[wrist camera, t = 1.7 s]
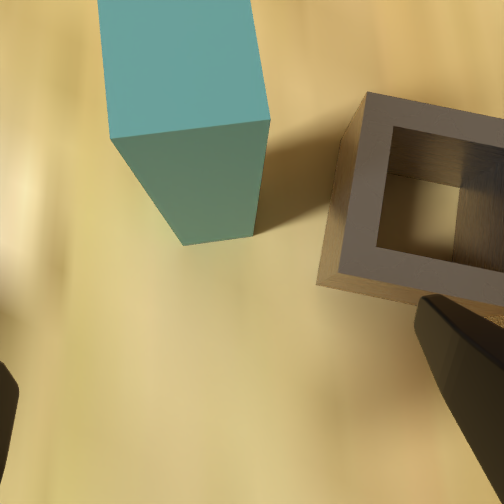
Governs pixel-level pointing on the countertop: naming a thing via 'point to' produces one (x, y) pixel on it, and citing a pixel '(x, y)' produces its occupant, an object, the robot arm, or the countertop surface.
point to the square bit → (188, 109)
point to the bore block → (429, 169)
